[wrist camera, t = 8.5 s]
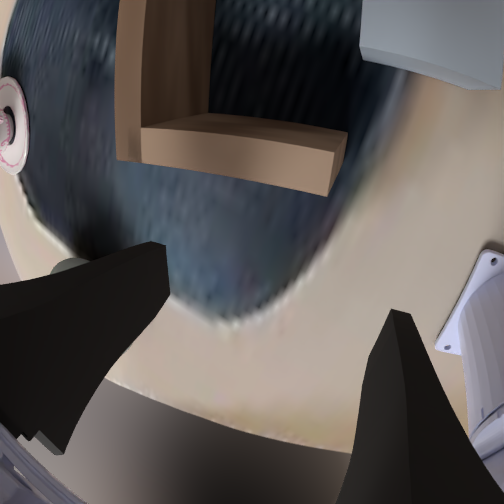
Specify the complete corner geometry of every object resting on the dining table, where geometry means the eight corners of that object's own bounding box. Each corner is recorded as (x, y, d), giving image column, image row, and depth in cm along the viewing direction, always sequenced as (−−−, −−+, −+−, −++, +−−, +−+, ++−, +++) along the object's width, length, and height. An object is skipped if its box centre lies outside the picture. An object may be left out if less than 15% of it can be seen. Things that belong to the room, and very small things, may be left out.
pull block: (573, 46, 6) (615, 43, 2) (566, 138, 9) (609, 158, 5) (369, -38, 9) (364, -77, 5) (363, 59, 12) (359, 46, 9)
